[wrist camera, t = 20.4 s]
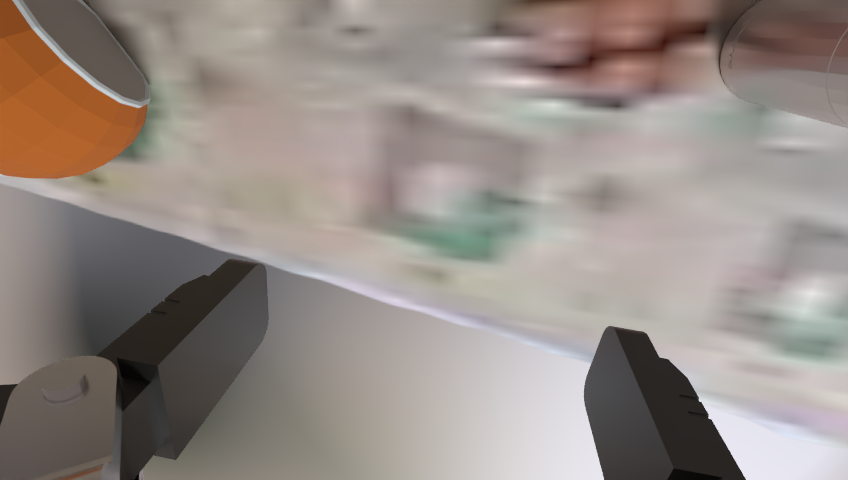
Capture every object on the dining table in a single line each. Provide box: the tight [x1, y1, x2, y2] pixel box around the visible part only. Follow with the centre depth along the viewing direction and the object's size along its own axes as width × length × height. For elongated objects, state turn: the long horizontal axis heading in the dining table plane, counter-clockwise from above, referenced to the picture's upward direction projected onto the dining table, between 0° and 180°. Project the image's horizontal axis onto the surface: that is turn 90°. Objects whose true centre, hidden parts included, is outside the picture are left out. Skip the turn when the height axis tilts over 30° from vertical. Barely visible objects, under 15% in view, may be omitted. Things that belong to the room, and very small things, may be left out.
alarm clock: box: [0, 0, 151, 179], centre depth 41 cm, size 19×18×17 cm
